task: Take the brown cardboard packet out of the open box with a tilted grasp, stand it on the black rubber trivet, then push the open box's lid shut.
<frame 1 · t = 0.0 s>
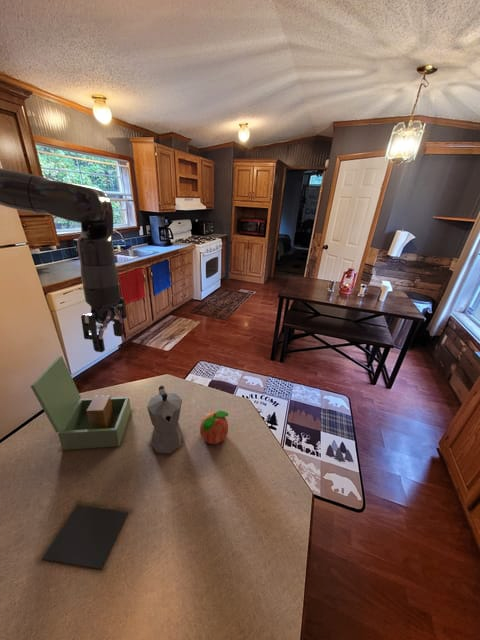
hand: (109, 343, 65), 31 cm above the kitchen counter, tool pointing down, fingers open, 8 cm apart
fruit: (213, 438, 79), on the kitchen counter
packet: (103, 428, 78), point 1 cm above the kitchen counter, touching open box
open box: (100, 430, 78), on the kitchen counter
lid: (59, 392, 71), point 15 cm above the kitchen counter, hinge at 100.0°
coffeepot: (166, 440, 77), on the kitchen counter
trivet: (89, 536, 53), on the kitchen counter
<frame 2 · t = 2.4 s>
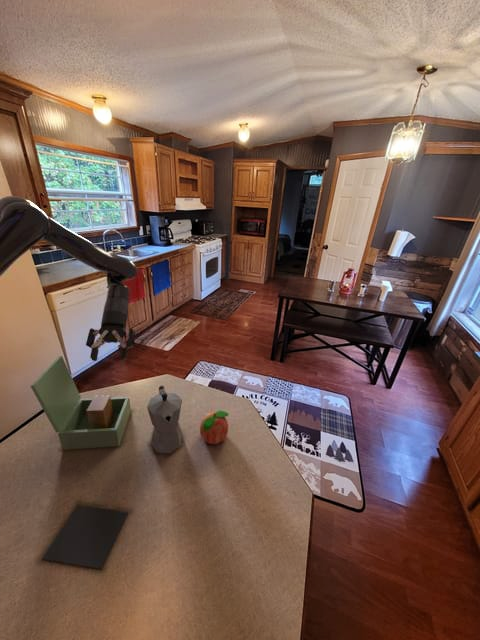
hand: (108, 360, 81), 18 cm above the kitchen counter, tool tilted 45°, fingers open, 8 cm apart
nothing on the kitchen counter moved.
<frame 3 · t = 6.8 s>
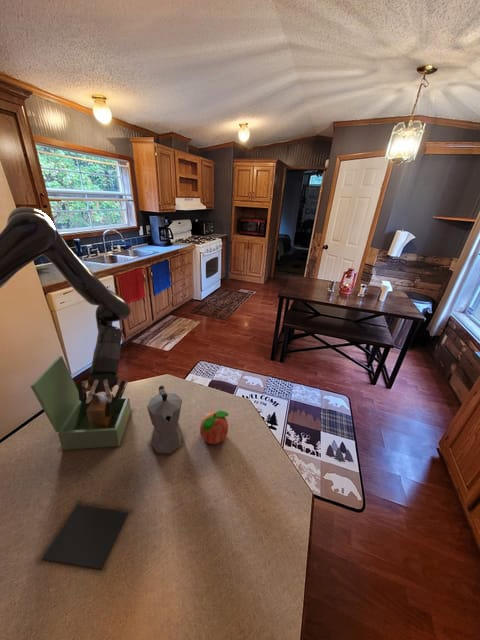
hand: (98, 416, 73), 7 cm above the kitchen counter, tool tilted 45°, fingers closed on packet, 4 cm apart
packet: (103, 428, 78), point 1 cm above the kitchen counter, touching open box, gripper
everything else where it was.
when the fingers open (8 cm above the kitchen counter, at t = 16.5 s): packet stays where it is, resting on trivet.
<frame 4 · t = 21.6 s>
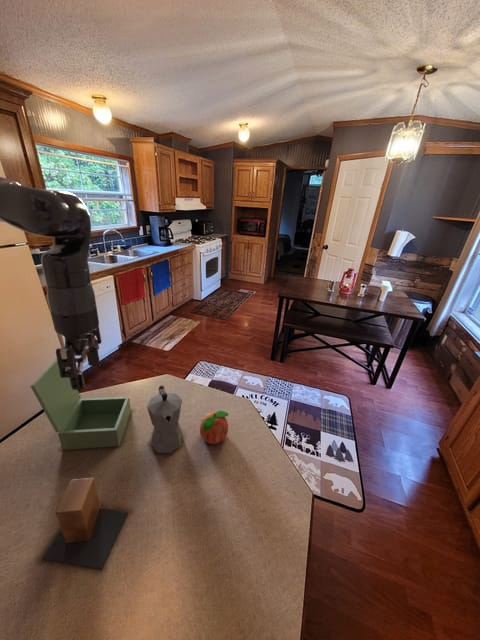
hand: (87, 375, 55), 30 cm above the kitchen counter, tool pointing down, fingers open, 8 cm apart
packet: (84, 524, 54), point 1 cm above the kitchen counter, touching trivet
everything else where it was.
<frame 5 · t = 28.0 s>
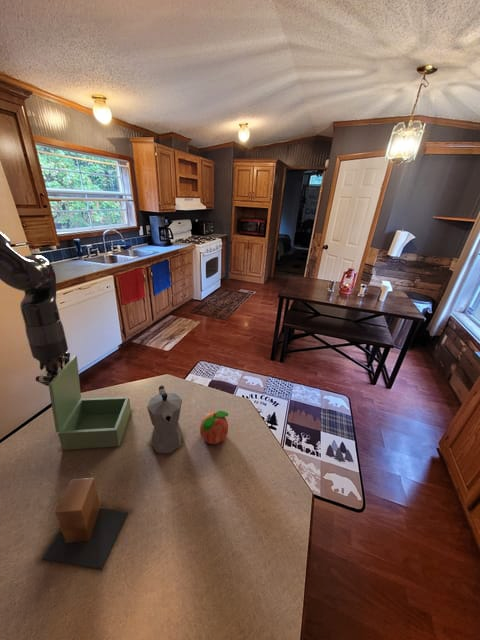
hand: (61, 392, 71), 15 cm above the kitchen counter, tool pointing down, fingers closed
lid: (66, 391, 71), point 15 cm above the kitchen counter, hinge at 85.2°, touching gripper
everything else where it was.
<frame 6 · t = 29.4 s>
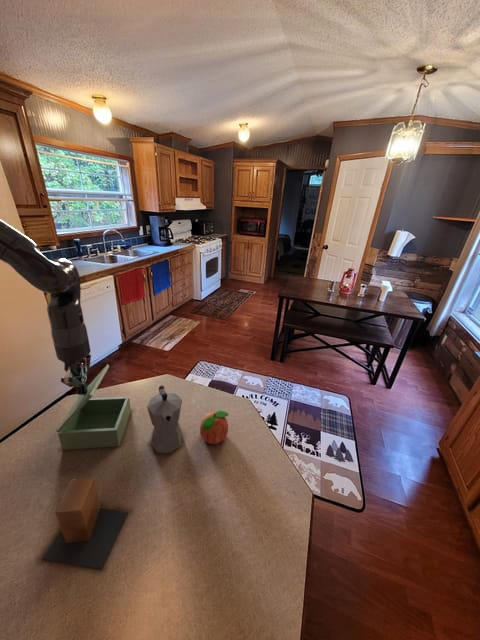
hand: (82, 393, 72), 15 cm above the kitchen counter, tool pointing down, fingers closed
lid: (84, 396, 72), point 13 cm above the kitchen counter, hinge at 50.0°, touching gripper
everything else where it was.
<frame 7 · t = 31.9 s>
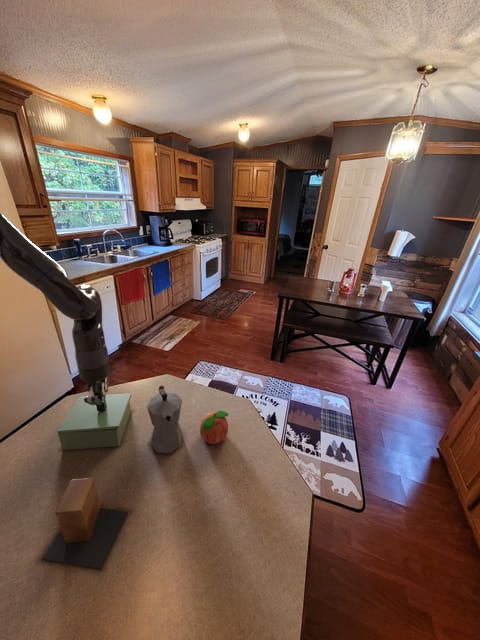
hand: (102, 409, 75), 8 cm above the kitchen counter, tool pointing down, fingers closed
lid: (98, 411, 75), point 8 cm above the kitchen counter, hinge at 2.2°, touching gripper
everything else where it was.
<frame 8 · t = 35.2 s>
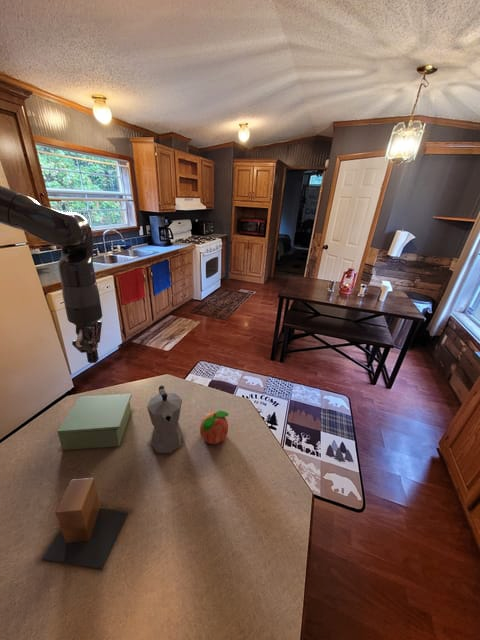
hand: (93, 361, 68), 25 cm above the kitchen counter, tool pointing down, fingers closed
lid: (98, 411, 75), point 8 cm above the kitchen counter, hinge at 1.5°
everything else where it was.
at the end: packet inside the target area on the trivet (2.5 cm from its centre), point 1.0 cm above the trivet's base; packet tilted 0°; lid at +2° (first picture: +100°) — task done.
